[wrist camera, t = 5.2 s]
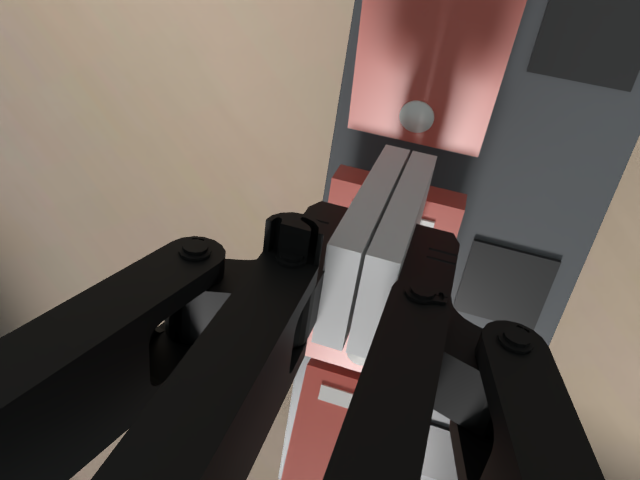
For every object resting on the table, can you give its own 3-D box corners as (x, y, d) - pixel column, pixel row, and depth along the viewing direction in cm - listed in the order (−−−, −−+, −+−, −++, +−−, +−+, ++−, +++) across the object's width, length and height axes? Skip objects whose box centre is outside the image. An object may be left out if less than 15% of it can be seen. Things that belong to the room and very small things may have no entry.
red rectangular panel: (279, 503, 27) (271, 521, 26) (313, 353, 26) (306, 365, 24) (368, 535, 27) (364, 555, 25) (410, 382, 25) (408, 396, 24)
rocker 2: (313, 336, 24) (303, 357, 23) (340, 163, 20) (330, 179, 19) (415, 367, 23) (411, 389, 22) (467, 194, 19) (464, 211, 18)
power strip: (288, 491, 37) (259, 565, 33) (409, -194, 20) (383, -237, 15) (441, 544, 35) (433, 630, 31) (722, -155, 18) (795, -190, 14)
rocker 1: (356, 110, 20) (346, 129, 19) (391, -164, 15) (379, -156, 14) (481, 138, 19) (477, 159, 19) (567, -140, 14) (567, -130, 13)
